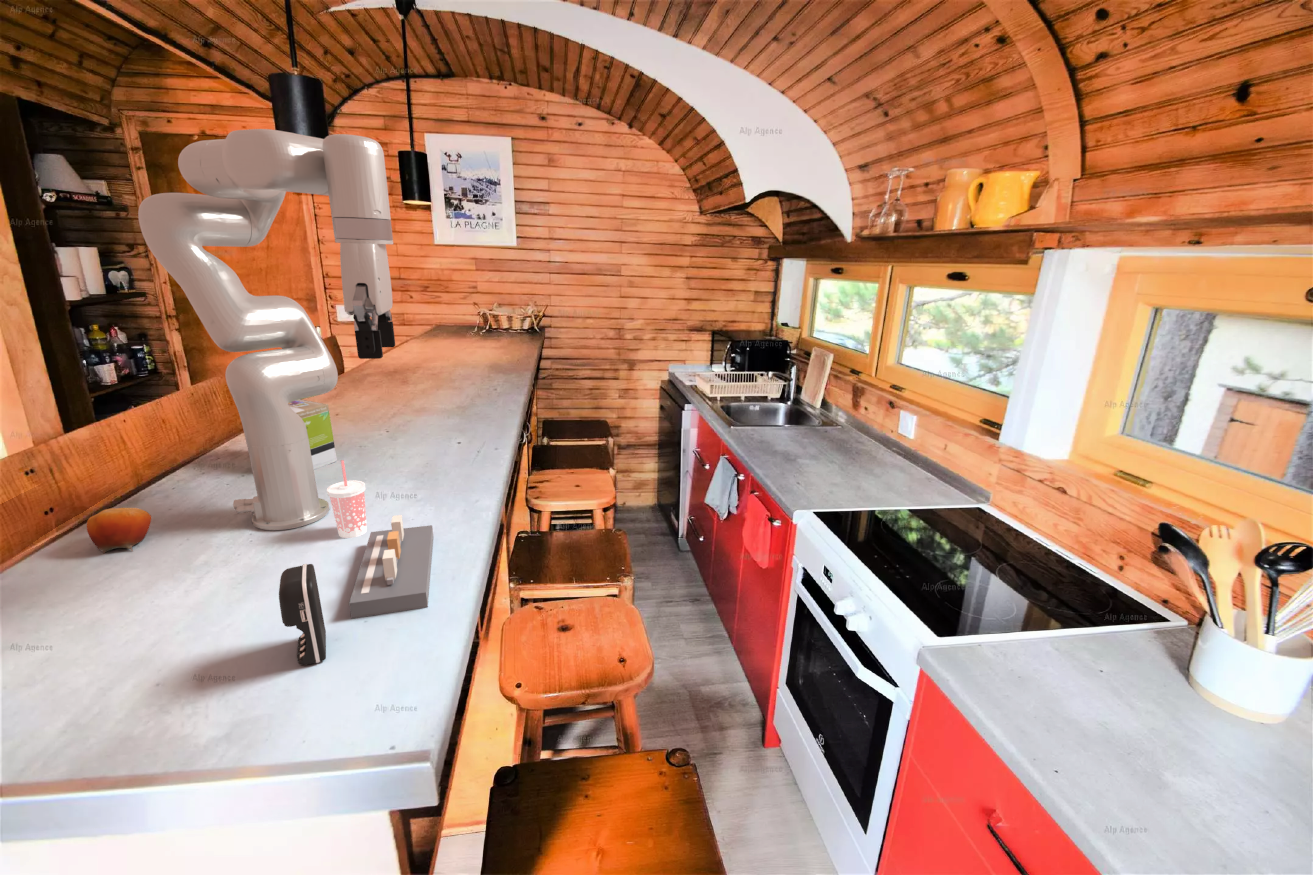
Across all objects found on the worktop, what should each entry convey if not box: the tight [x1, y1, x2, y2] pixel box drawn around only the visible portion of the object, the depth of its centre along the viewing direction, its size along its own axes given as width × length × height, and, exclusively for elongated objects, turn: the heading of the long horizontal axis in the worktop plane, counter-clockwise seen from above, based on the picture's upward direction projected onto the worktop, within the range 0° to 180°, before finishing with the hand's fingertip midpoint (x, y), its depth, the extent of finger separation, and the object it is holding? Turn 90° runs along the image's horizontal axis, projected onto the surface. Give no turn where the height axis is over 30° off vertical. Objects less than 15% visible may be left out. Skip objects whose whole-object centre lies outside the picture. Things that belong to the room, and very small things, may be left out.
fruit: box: [86, 507, 152, 554], centre depth 97 cm, size 8×8×8 cm
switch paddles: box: [382, 514, 404, 585], centre depth 91 cm, size 1×16×4 cm, turn 18°
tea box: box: [288, 399, 338, 471], centre depth 134 cm, size 15×10×15 cm
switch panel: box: [348, 525, 434, 619], centre depth 92 cm, size 10×22×3 cm, turn 18°
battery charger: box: [278, 563, 327, 666], centre depth 72 cm, size 7×4×11 cm, turn 29°
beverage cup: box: [326, 459, 368, 539], centre depth 103 cm, size 6×6×14 cm
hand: (378, 352), depth 87 cm, fingers open, 9 cm apart
